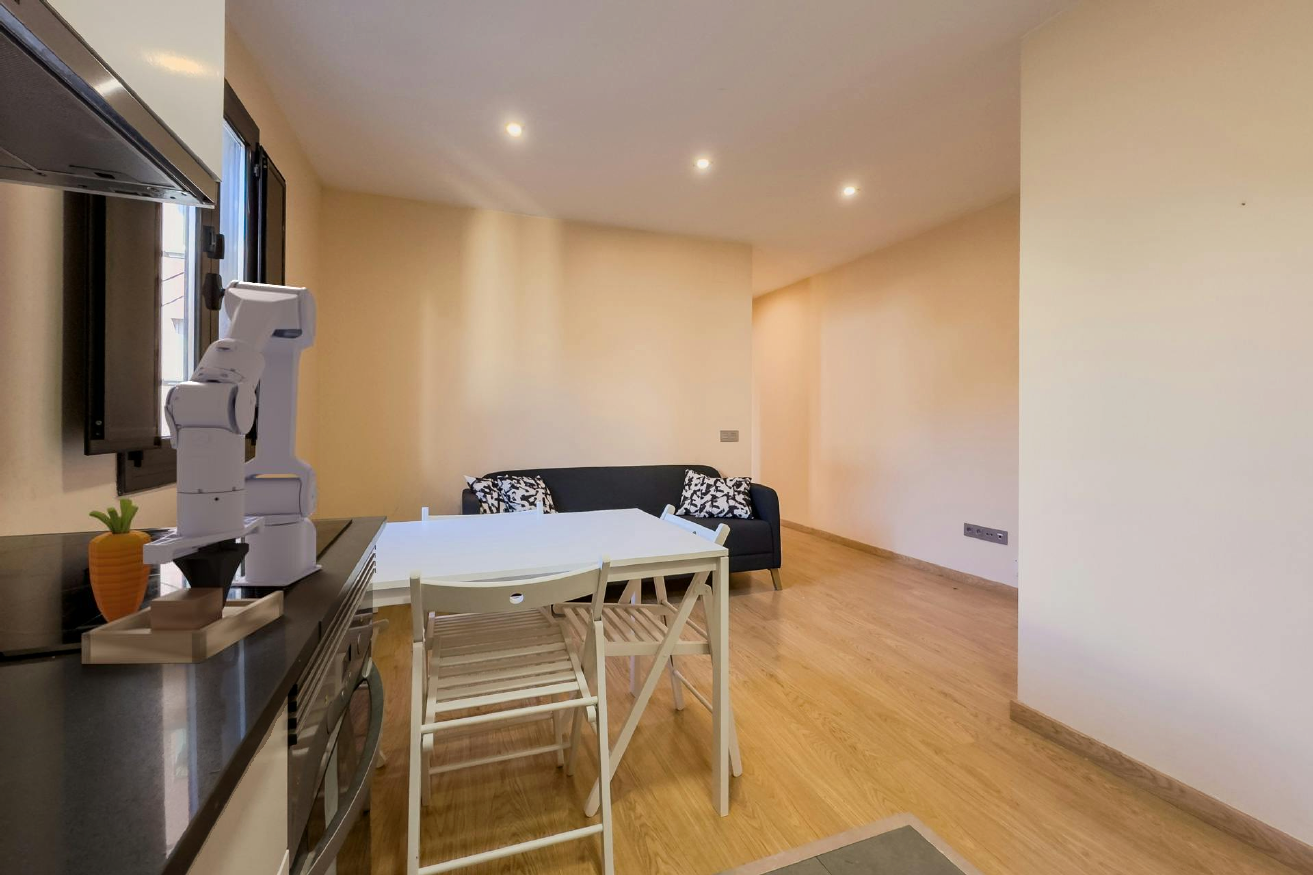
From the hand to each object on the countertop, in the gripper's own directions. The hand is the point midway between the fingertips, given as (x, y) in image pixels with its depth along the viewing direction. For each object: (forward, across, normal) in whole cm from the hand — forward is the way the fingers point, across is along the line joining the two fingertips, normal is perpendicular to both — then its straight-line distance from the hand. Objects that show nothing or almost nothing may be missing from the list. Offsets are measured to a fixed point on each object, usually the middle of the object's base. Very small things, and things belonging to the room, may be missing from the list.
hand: (211, 610), depth 58 cm
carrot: (+3, -2, -11) cm, 12 cm away
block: (+1, +3, 0) cm, 3 cm away
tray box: (+3, 0, -2) cm, 4 cm away
